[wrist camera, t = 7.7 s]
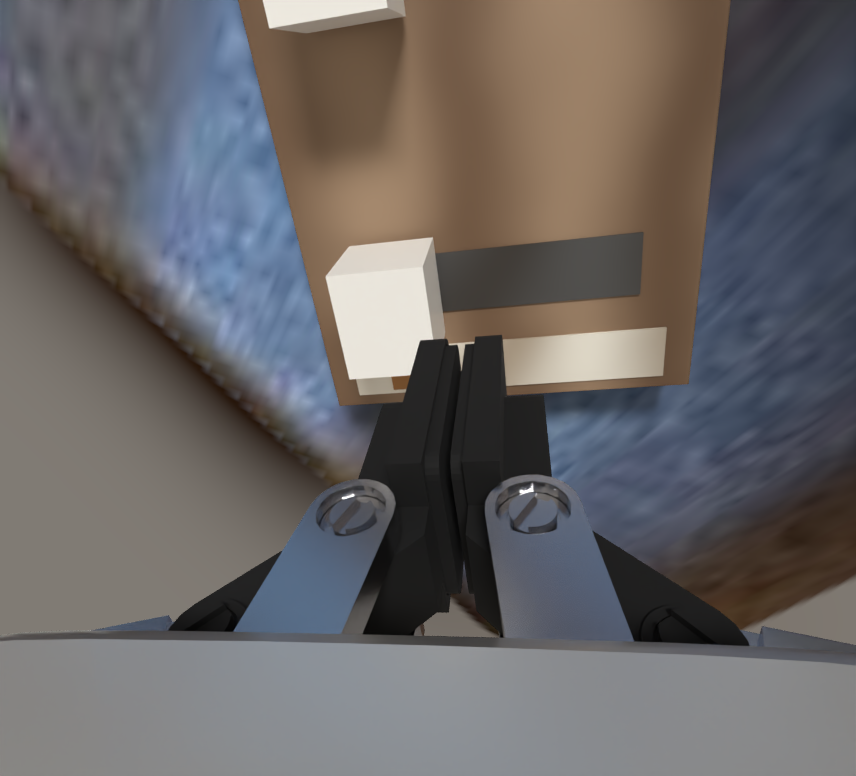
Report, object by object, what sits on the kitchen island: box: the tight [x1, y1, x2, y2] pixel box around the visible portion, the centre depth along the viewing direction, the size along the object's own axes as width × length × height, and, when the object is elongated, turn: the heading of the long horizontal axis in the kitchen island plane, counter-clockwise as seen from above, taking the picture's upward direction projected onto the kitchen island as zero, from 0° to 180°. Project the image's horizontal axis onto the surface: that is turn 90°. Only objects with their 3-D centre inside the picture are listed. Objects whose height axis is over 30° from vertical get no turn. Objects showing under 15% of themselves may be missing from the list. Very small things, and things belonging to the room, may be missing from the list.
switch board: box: [238, 0, 731, 406], centre depth 19 cm, size 14×20×3 cm
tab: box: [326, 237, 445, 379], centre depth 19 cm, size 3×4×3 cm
